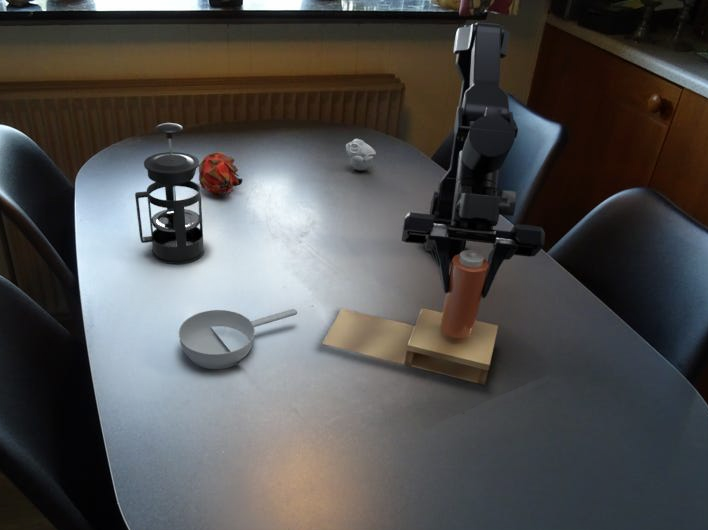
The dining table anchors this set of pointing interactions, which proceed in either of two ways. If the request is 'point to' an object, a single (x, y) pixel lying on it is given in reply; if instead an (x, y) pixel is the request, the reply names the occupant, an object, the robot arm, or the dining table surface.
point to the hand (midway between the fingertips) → (464, 295)
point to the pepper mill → (463, 294)
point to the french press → (173, 205)
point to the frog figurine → (360, 154)
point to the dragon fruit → (218, 174)
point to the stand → (417, 343)
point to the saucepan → (207, 344)
